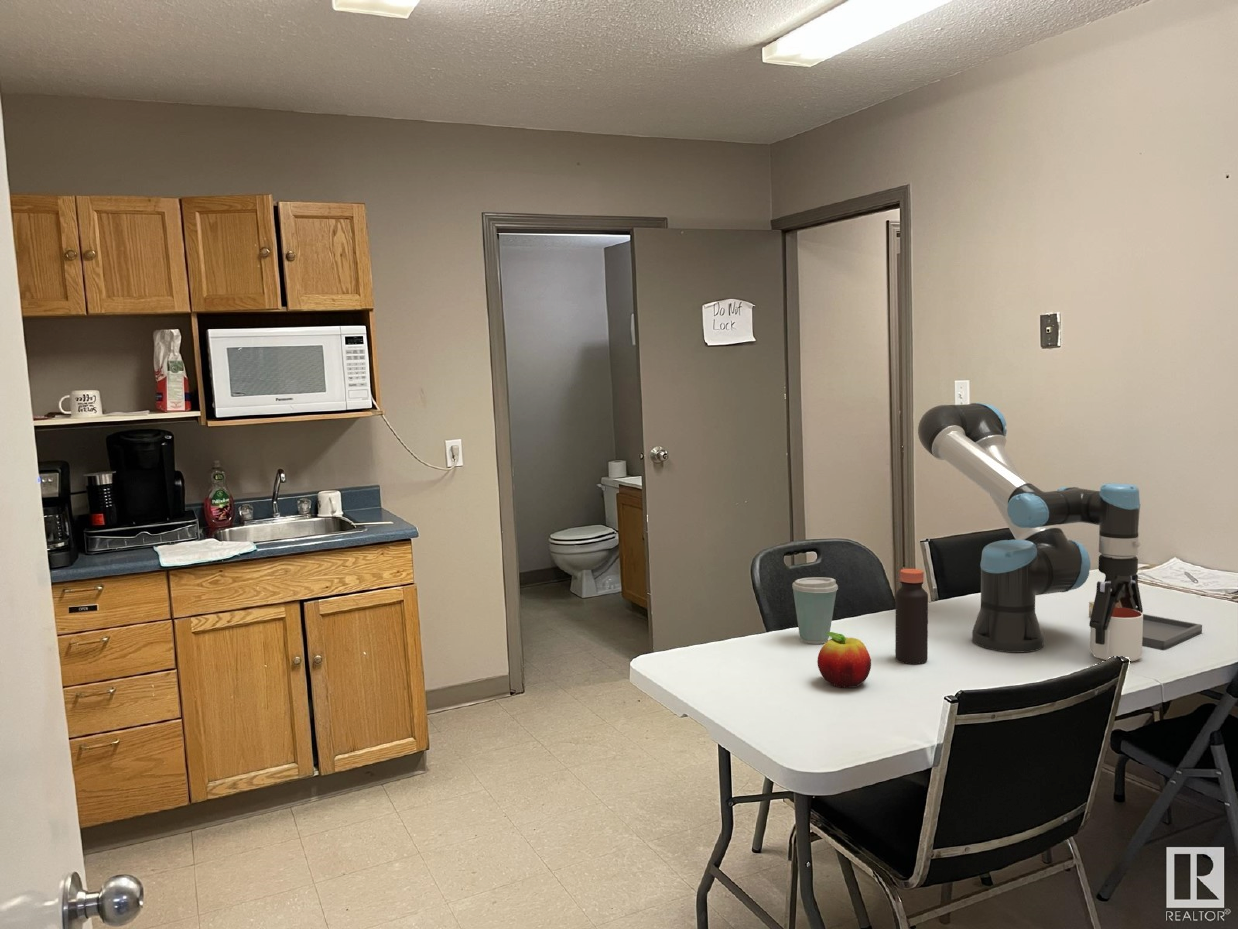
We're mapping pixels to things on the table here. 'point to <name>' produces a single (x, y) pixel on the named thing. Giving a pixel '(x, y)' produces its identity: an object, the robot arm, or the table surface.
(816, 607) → the disposable coffee cup
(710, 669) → the table surface
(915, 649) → the bottle
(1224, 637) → the table surface
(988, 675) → the table surface
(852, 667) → the fruit
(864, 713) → the table surface
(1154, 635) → the tray
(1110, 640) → the cup
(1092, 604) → the maple block
